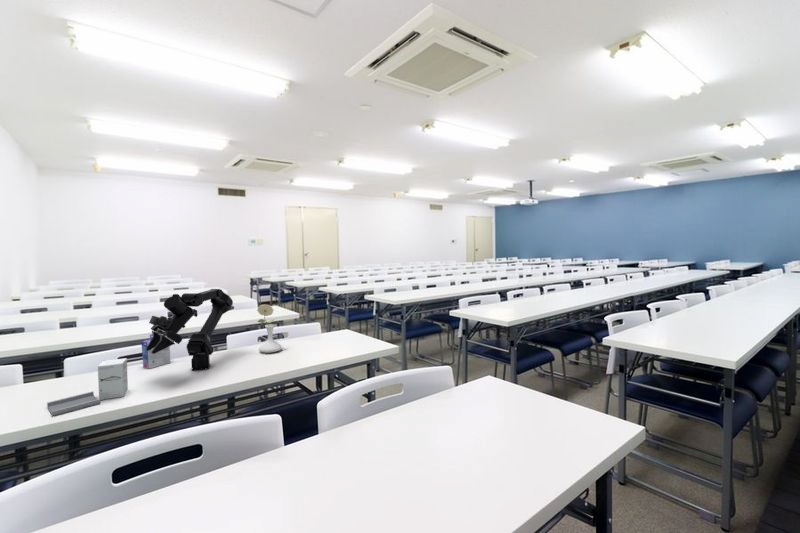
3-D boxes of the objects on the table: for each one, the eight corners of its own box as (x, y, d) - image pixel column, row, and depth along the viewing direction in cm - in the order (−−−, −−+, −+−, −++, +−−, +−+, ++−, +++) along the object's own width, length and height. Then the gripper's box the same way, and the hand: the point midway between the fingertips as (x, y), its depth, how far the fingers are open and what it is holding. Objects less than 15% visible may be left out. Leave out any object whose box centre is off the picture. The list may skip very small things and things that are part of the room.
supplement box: (98, 401, 125) (96, 366, 124) (104, 393, 132) (102, 360, 131) (124, 396, 128) (122, 363, 128) (128, 389, 135) (127, 357, 134)
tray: (93, 395, 130) (92, 391, 130) (100, 403, 123) (100, 399, 123) (47, 407, 120) (47, 402, 120) (52, 416, 113) (52, 411, 113)
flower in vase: (286, 349, 189) (285, 303, 187) (273, 355, 178) (272, 306, 176) (264, 347, 192) (263, 302, 190) (251, 353, 181) (250, 305, 179)
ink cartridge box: (164, 361, 169) (163, 331, 168) (171, 362, 166) (170, 332, 166) (141, 367, 160) (140, 335, 159) (148, 369, 158) (147, 337, 157)
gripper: (155, 305, 147) (124, 336, 139) (172, 310, 136) (139, 344, 128) (177, 320, 154) (148, 351, 146) (194, 327, 142) (164, 360, 134)
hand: (149, 351), depth 138 cm, fingers open, 6 cm apart
